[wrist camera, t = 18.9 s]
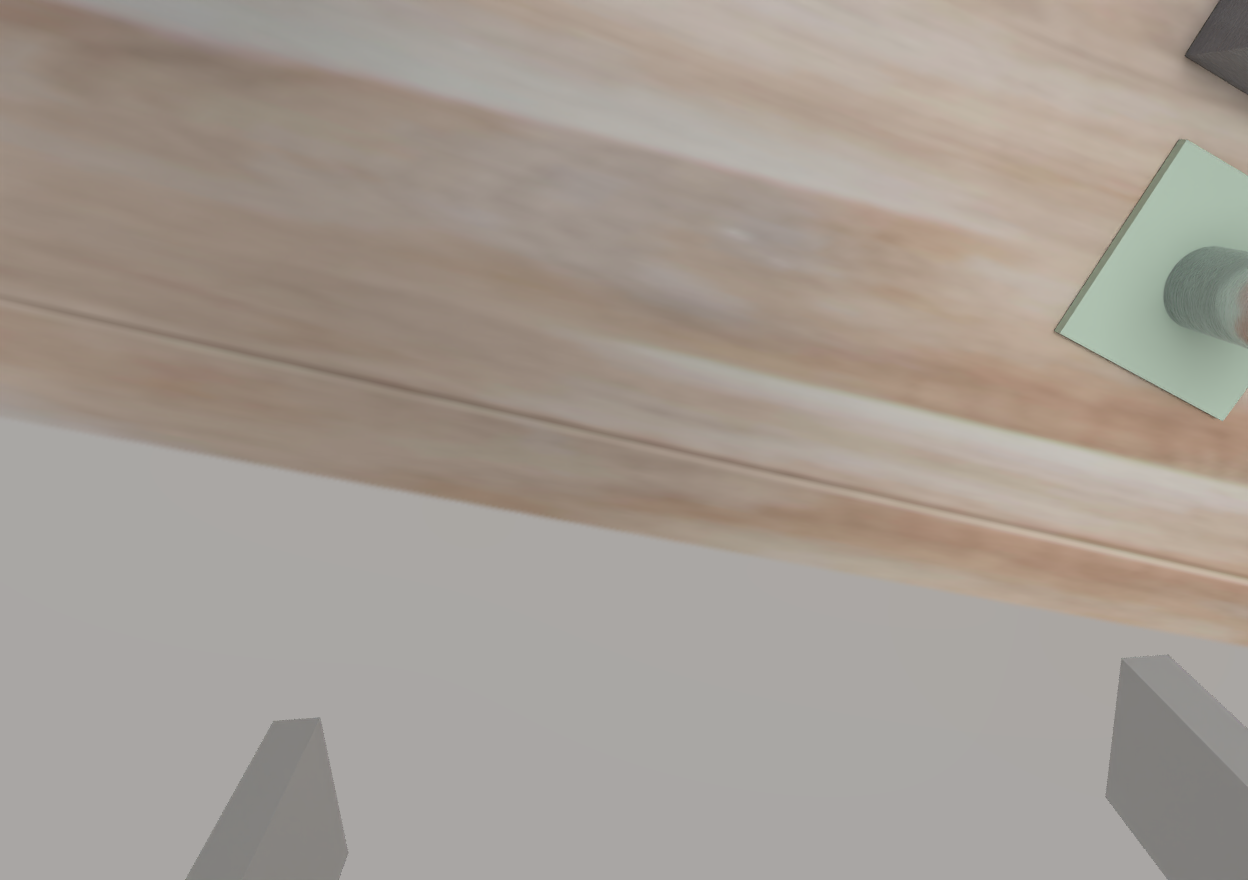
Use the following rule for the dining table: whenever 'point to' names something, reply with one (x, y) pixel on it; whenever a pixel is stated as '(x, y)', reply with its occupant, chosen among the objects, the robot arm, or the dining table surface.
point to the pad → (1137, 272)
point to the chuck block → (1225, 43)
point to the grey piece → (1211, 293)
